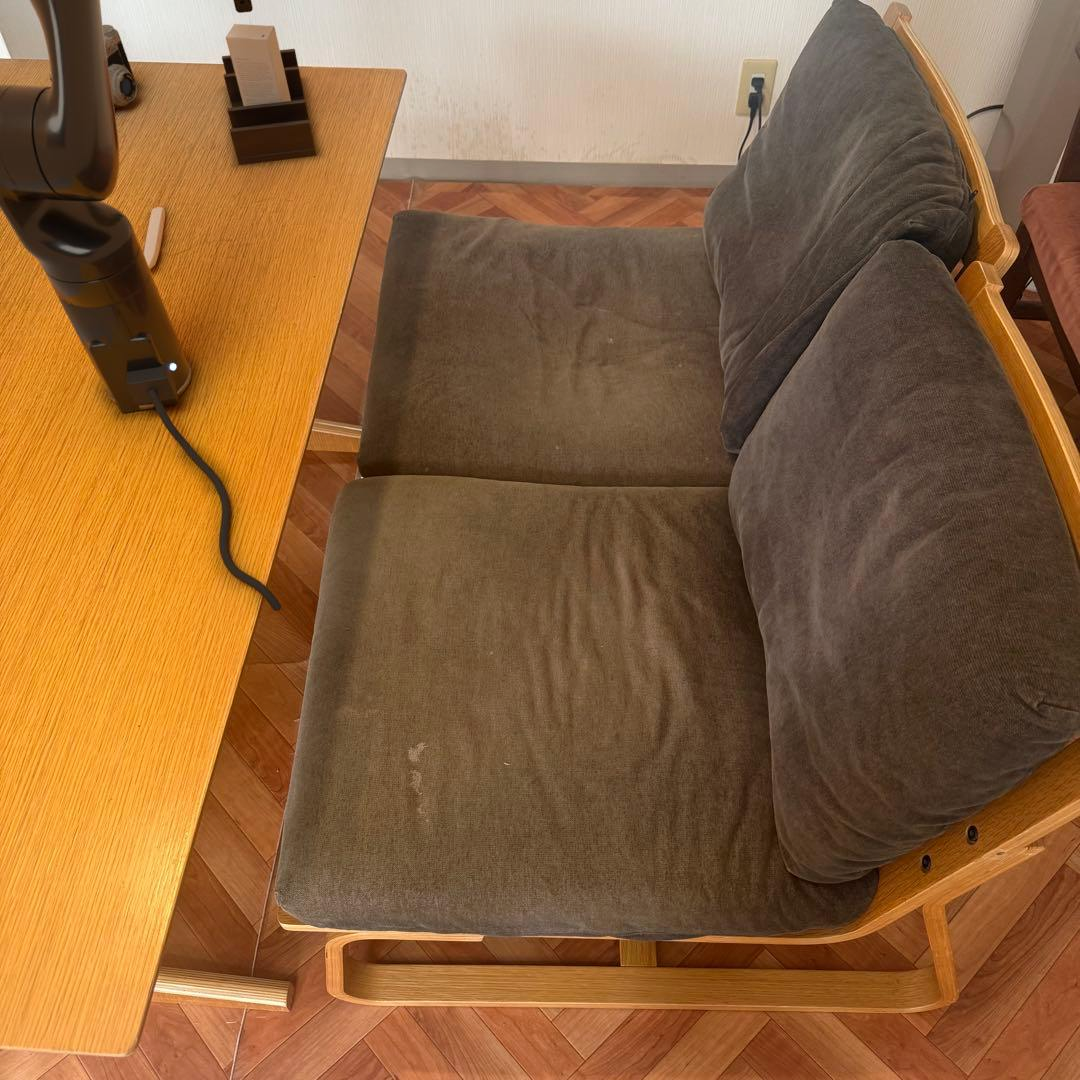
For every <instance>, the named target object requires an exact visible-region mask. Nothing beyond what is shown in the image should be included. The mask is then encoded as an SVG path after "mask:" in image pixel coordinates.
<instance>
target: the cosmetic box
mask: <svg viewBox="0 0 1080 1080" xmlns="http://www.w3.org/2000/svg"><path fill="white" fill-rule="evenodd" d="M225 40H226V41H225V42H226V44H227V48H228V51H229V55H230V56H231V59H232V63H233V67H234V71H235V75H236V78H237V82H238V86H239V90H240V94H241V98H242V101H243V105H244V106H250V105H259V104H268V103H277V102H286V101H291V99H290V94H289V89H288V85H287V80H286V76H285V72H284V67H283V63H282V58H281V53H280V50H281V48H280V45H279V41H278V36H277V31H276V28H275V25H261V24H246V23H245V24H240V23H233V25H232V26H231V28H230V29H229V31H228V33H227V34H226V36H225Z"/></svg>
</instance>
